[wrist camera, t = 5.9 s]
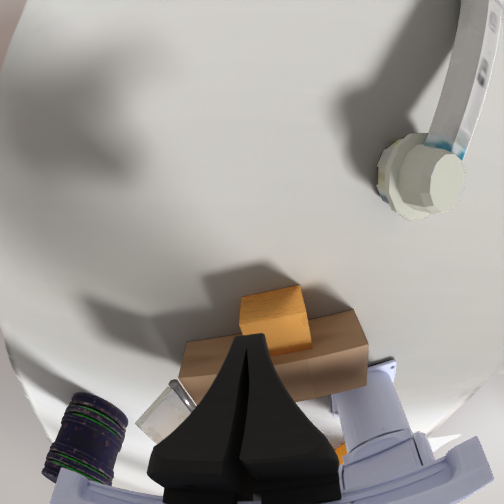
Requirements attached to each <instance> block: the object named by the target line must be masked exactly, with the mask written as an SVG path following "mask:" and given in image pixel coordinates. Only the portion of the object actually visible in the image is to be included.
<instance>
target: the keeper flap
mask: <svg viewBox="0 0 504 504" xmlns="http://www.w3.org/2000/svg"><path fill="white" fill-rule="evenodd" d="M169 386H170V387H167V388H166V389H165V390H164V391H163V393H162V394H161V395H160V396H159V397H158V398H157V399H156V400H155V402H154V403H153V404H152V405H151V406H150V407H149V408H148V409H147V410H146V412H145V413H144V414H143V415H142V416H141V417H140V418H139V419H138V420H137V421H136V423H135V424H136V425H137V426H138V427H139V428H140V429H141V430H142V431H143V432H144V433H145V434H146V435H148V436H149V437H150V438H151V439H152V440H153V441H154V442H155V443H156V444H158V443H160V442H161V441H162V440H163V439H165V438H166V437H167V436H168V435H170V434H171V433H172V432H173V431H174V430H175V429H176V428H177V427H178V426H179V425H180V424H181V423H182V422H183V421H184V420H185V419H186V418H187V417H188V416H189V415H190V414H191V412H192V411H193V410H194V409H195V407H196V406H195V404H194V403H193V402H192V400H191V399H190V397H189V396H188V395H187V393H186V392H185V390H184V389H183V388H182V386H181V385H180V383H179V382H178V380H176V379H174V380H171V381H170V382H169Z"/></svg>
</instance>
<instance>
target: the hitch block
mask: <svg viewBox="0 0 504 504" xmlns="http://www.w3.org/2000/svg"><path fill="white" fill-rule="evenodd" d="M308 324H309V330H310V335H311V341H312V347H313V349H308V350H303V351H298V352H294V353H288V354H283V355H278V356H272V357H270V358H271V361H272V363H273V366H274V368H275V370H276V372H277V374H278V376H279V378H280V379H281V381H282V383H283V385H284V386H285V388H286V390H287V391H288V393H289V394H290V396H291V397H292V399H293V400H294V401H295V402H299V401H304V400H309V399H314V398H319V397H323V396H328V395H332V394H336V393H340V392H345V391H348V390H352V389H356V388H360V387H363V386H366V385H367V370H368V347H369V344H368V341H367V339H366V337H365V334H364V332H363V330H362V327H361V325H360V323H359V320H358V318H357V316H356V314H355V311H354V309H353V310H349V311H345V312H341V313H337V314H333V315H329V316H325V317H320V318H316V319H312V320H308ZM235 336H243V334H236V335H230V336H224V337H218V338H211V339H205V340H198V341H191V342H187V343H186V347H185V351H184V355H183V360H182V364H181V368H180V372H179V376H178V379H179V380H180V381H181V383H182V384H183V386H184V387H185V389H186V390H187V392H188V393H189V394H190V396H191V397H192V399H193V400H194V401H195V403H196V404H197V405H198V404H199V402H200V401H201V400H202V398H203V397H204V396H205V394H206V393H207V391H208V390H209V388H210V386H211V385H212V383H213V381H214V380H215V378H216V376H217V374H218V373H219V371H220V369H221V367H222V365H223V363H224V361H225V359H226V356H227V354H228V352H229V349H230V347H231V344H232V342H233V339H234V338H235Z"/></svg>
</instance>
